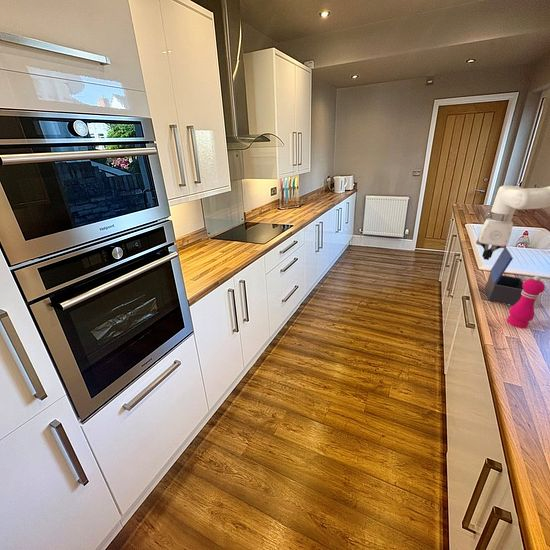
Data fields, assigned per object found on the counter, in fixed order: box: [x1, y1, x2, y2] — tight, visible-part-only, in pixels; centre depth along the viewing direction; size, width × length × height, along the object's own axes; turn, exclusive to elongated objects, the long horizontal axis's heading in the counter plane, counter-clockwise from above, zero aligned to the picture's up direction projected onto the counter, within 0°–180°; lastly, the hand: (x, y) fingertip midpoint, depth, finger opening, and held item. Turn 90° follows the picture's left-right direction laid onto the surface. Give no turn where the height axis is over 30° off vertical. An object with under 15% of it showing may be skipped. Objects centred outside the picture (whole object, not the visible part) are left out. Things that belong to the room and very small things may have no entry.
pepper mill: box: [506, 275, 546, 329], centre depth 106 cm, size 7×7×20 cm
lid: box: [489, 247, 514, 284], centre depth 124 cm, size 12×14×1 cm
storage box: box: [484, 273, 525, 306], centre depth 127 cm, size 12×14×8 cm
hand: (485, 258), depth 126 cm, fingers closed
